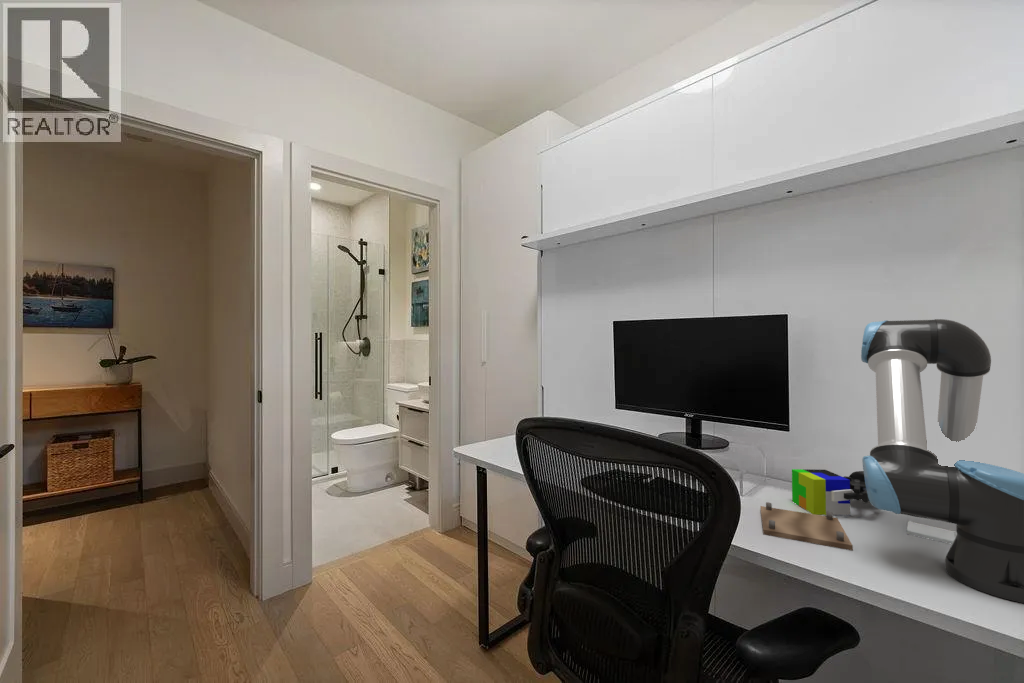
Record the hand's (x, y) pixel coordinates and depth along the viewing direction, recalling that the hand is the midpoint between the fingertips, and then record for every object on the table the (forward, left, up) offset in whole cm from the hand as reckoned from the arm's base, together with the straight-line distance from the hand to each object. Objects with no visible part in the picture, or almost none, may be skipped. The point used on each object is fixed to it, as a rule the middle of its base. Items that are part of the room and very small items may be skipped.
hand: (811, 488), depth 123 cm
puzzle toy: (0, -3, -6) cm, 7 cm away
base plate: (-10, +14, -6) cm, 19 cm away
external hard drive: (-22, -16, -7) cm, 28 cm away
